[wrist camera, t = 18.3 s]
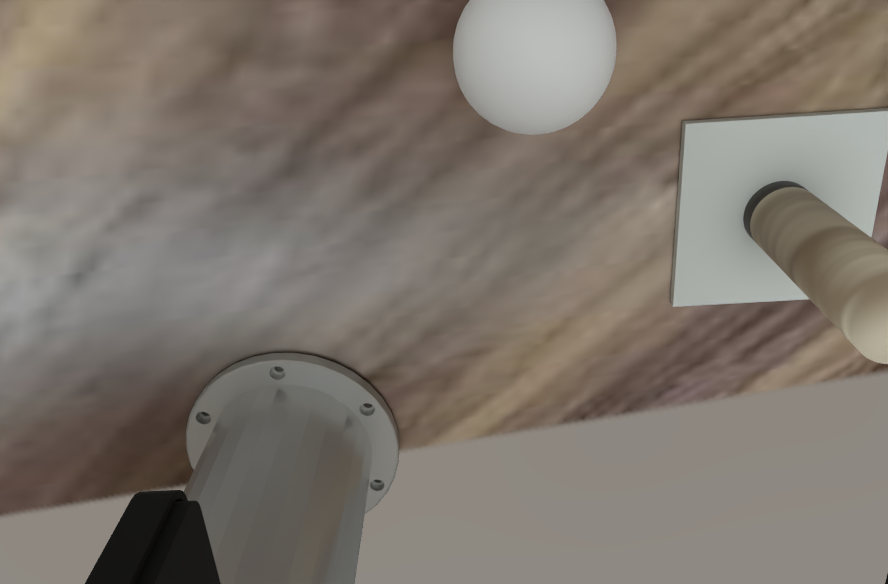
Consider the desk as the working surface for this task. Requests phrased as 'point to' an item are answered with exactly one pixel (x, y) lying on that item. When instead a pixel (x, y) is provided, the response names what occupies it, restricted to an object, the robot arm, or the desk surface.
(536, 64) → the lightbulb
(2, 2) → the desk surface
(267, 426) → the robot arm
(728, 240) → the mat
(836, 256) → the beige cylinder
